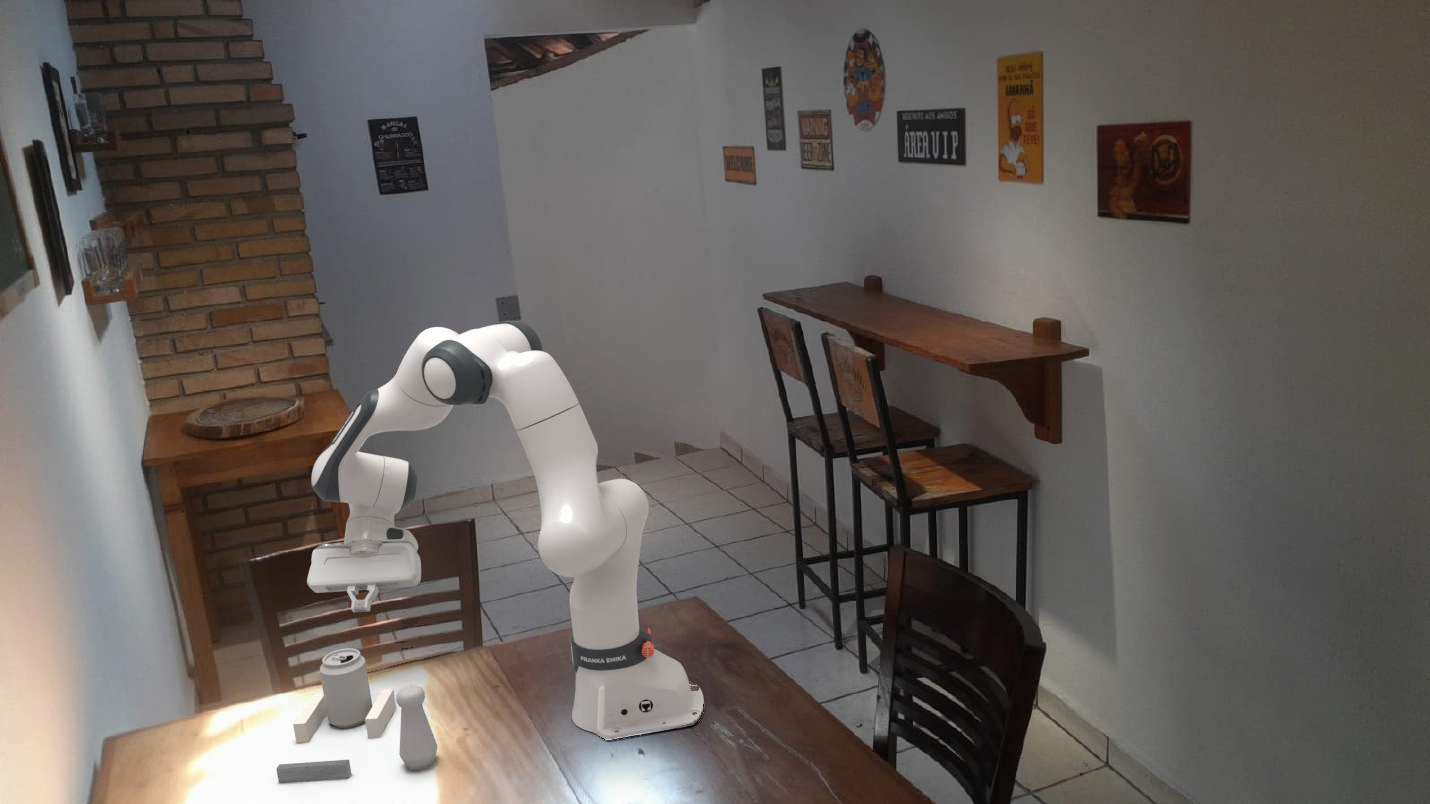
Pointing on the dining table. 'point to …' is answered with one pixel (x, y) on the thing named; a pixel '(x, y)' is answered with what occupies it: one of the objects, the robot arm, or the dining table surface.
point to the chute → (317, 712)
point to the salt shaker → (415, 729)
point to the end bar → (313, 771)
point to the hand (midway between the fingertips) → (360, 610)
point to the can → (345, 687)
